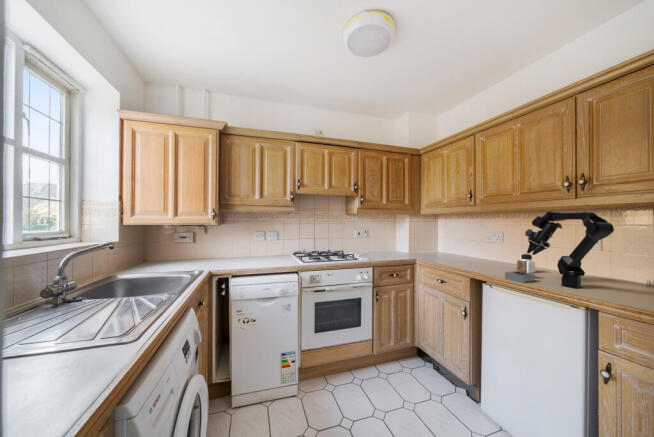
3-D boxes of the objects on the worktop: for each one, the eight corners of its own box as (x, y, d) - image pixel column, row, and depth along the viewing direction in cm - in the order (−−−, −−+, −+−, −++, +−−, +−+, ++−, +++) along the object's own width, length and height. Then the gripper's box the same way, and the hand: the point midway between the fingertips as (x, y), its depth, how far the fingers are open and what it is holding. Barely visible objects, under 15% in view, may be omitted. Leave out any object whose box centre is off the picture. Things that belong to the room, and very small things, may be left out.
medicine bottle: (535, 272, 167) (535, 254, 167) (528, 273, 165) (528, 255, 165) (523, 270, 174) (523, 253, 174) (516, 271, 171) (516, 253, 171)
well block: (534, 281, 144) (534, 274, 144) (523, 282, 140) (523, 275, 140) (515, 277, 153) (515, 270, 153) (505, 278, 149) (505, 272, 149)
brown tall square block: (526, 277, 153) (526, 261, 153) (524, 278, 151) (525, 261, 151) (518, 276, 156) (518, 260, 156) (516, 277, 154) (516, 260, 154)
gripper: (537, 227, 158) (522, 248, 162) (526, 222, 147) (510, 244, 152) (557, 236, 149) (541, 258, 154) (548, 232, 139) (530, 255, 143)
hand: (530, 253), depth 151 cm, fingers open, 9 cm apart
